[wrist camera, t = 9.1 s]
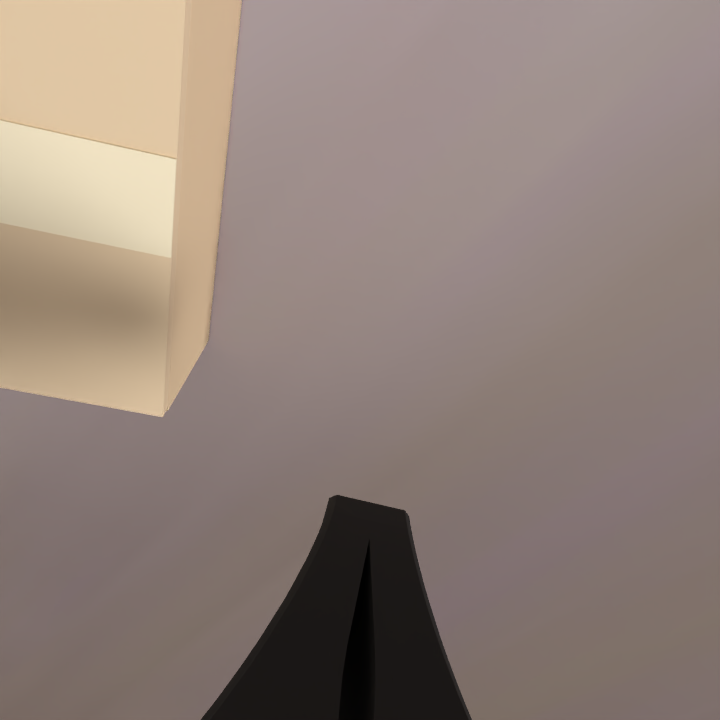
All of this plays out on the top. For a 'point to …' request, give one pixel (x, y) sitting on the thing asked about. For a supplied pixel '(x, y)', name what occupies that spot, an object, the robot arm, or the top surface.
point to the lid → (91, 196)
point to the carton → (202, 178)
